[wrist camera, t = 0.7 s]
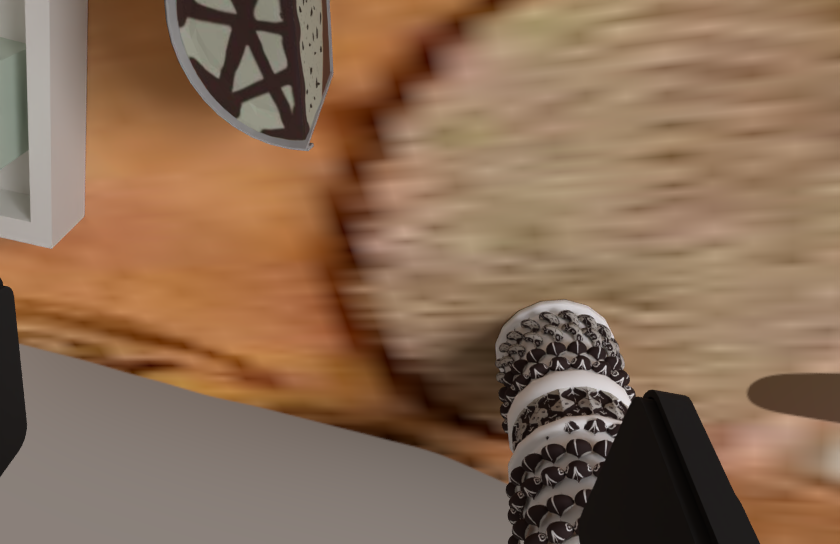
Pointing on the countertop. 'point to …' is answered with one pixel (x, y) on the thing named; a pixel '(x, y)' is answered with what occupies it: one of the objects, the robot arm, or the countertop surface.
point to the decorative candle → (557, 414)
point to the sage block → (13, 101)
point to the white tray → (48, 122)
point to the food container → (257, 62)
